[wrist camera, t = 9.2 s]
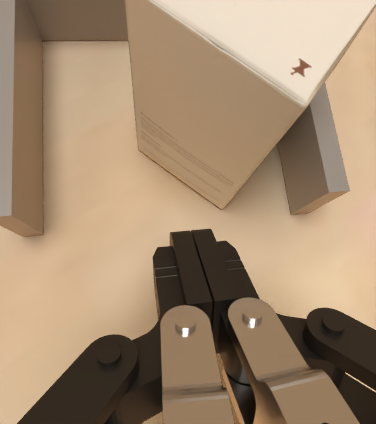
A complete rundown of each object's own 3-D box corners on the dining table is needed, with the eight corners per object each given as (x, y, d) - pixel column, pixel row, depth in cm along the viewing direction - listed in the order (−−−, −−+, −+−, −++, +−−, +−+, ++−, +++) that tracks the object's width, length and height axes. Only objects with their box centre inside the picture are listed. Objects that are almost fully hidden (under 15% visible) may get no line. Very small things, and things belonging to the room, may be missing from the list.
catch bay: (307, 213, 23) (349, 190, 18) (22, 236, 20) (-17, 217, 16) (270, 26, 27) (298, -35, 22) (24, 26, 24) (-7, -42, 19)
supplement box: (279, 134, 24) (410, -30, 12) (221, 213, 22) (307, 111, 10) (197, 75, 25) (244, -140, 13) (132, 147, 23) (115, -26, 11)
